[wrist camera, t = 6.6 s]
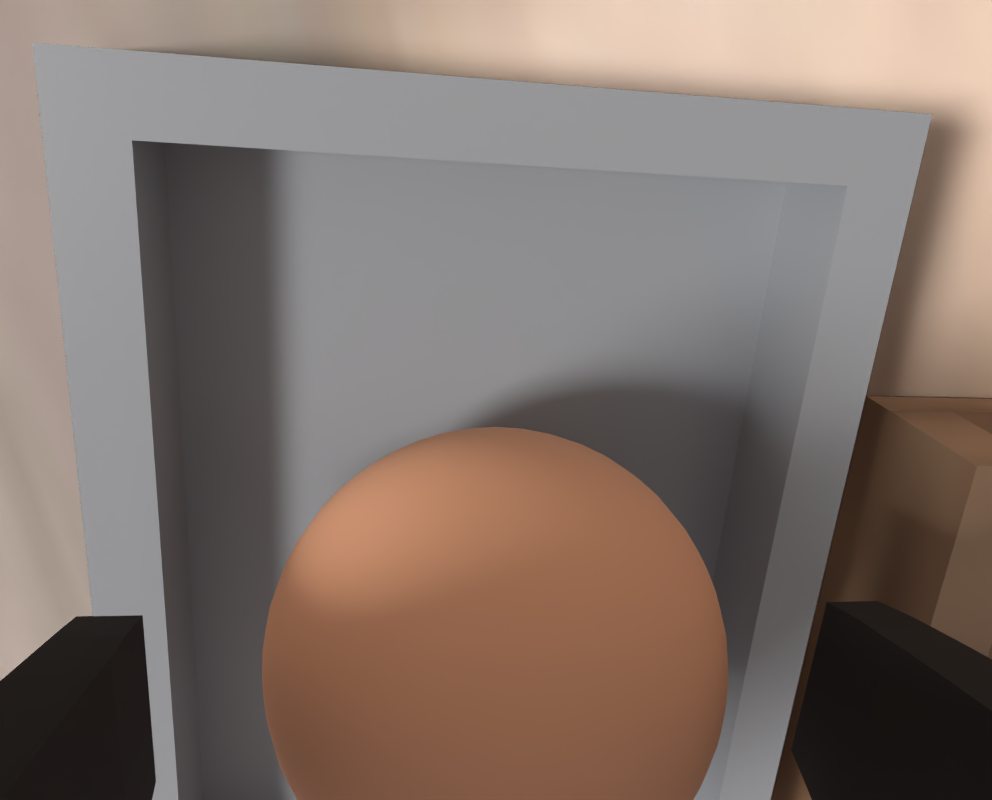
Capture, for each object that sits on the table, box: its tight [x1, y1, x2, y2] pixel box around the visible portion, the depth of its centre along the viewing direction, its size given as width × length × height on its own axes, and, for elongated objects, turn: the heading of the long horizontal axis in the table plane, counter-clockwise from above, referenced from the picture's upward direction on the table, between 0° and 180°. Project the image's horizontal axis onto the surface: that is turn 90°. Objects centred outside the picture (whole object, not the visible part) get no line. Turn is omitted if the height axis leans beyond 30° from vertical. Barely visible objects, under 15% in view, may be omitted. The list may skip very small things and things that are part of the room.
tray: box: [33, 43, 932, 800], centre depth 11 cm, size 12×9×2 cm
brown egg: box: [262, 427, 729, 800], centre depth 9 cm, size 5×5×5 cm
